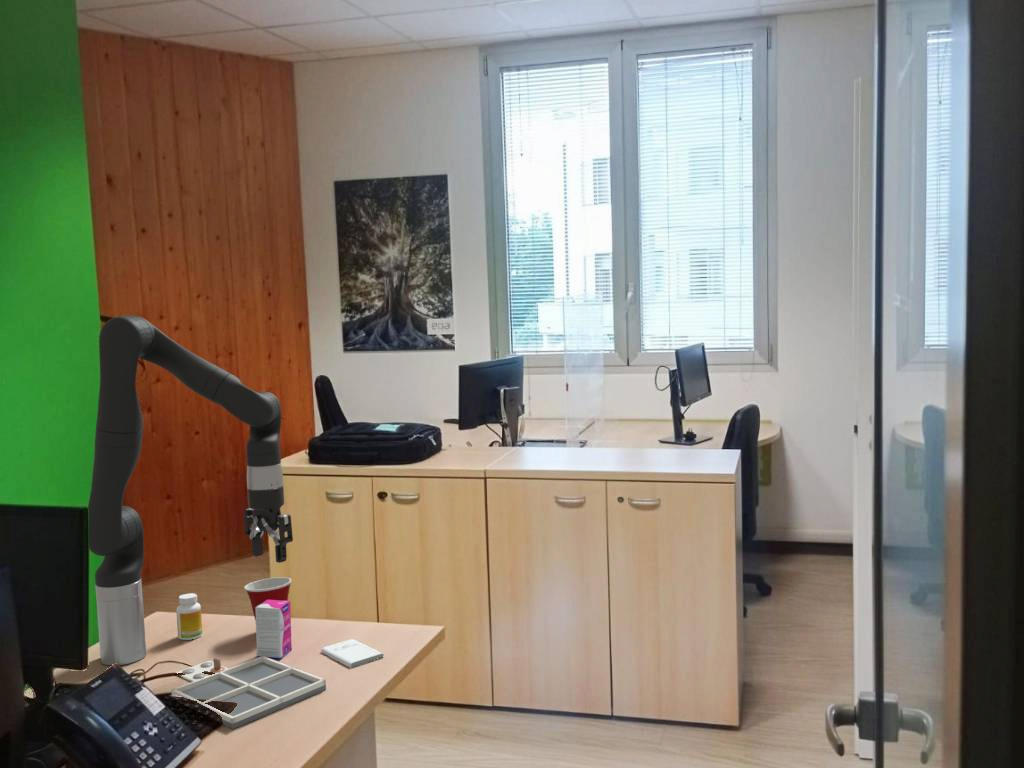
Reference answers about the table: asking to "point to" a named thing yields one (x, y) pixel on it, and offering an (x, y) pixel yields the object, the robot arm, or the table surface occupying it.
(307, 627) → the table surface
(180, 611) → the supplement bottle
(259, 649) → the supplement box
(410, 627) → the table surface
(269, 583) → the plastic cup
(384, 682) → the table surface
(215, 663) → the tile
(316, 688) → the socket board
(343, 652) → the external hard drive
